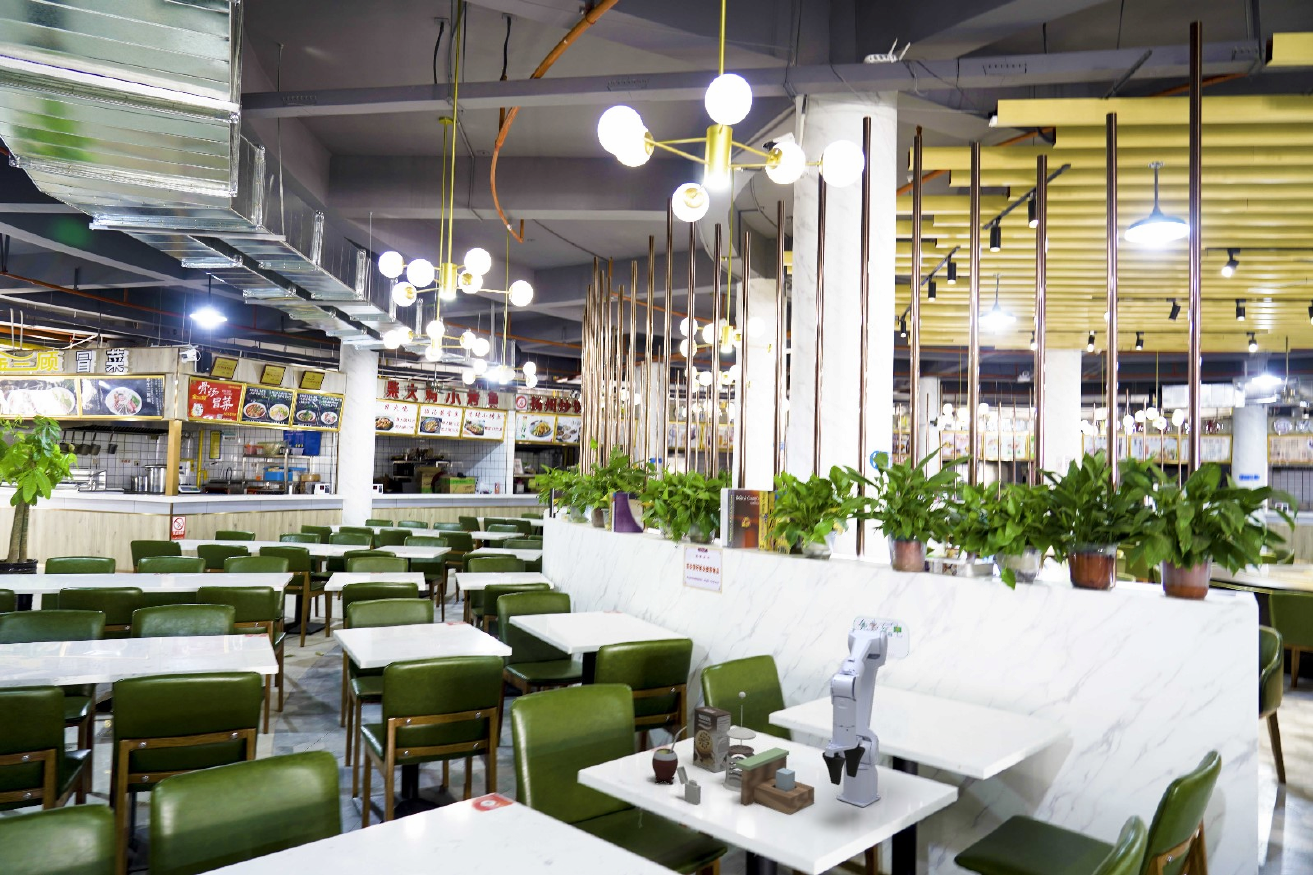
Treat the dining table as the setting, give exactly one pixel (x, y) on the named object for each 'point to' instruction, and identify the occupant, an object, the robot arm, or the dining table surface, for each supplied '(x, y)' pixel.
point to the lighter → (689, 787)
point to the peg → (785, 779)
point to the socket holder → (771, 783)
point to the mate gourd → (665, 763)
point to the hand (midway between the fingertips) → (843, 780)
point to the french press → (740, 733)
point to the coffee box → (711, 738)
